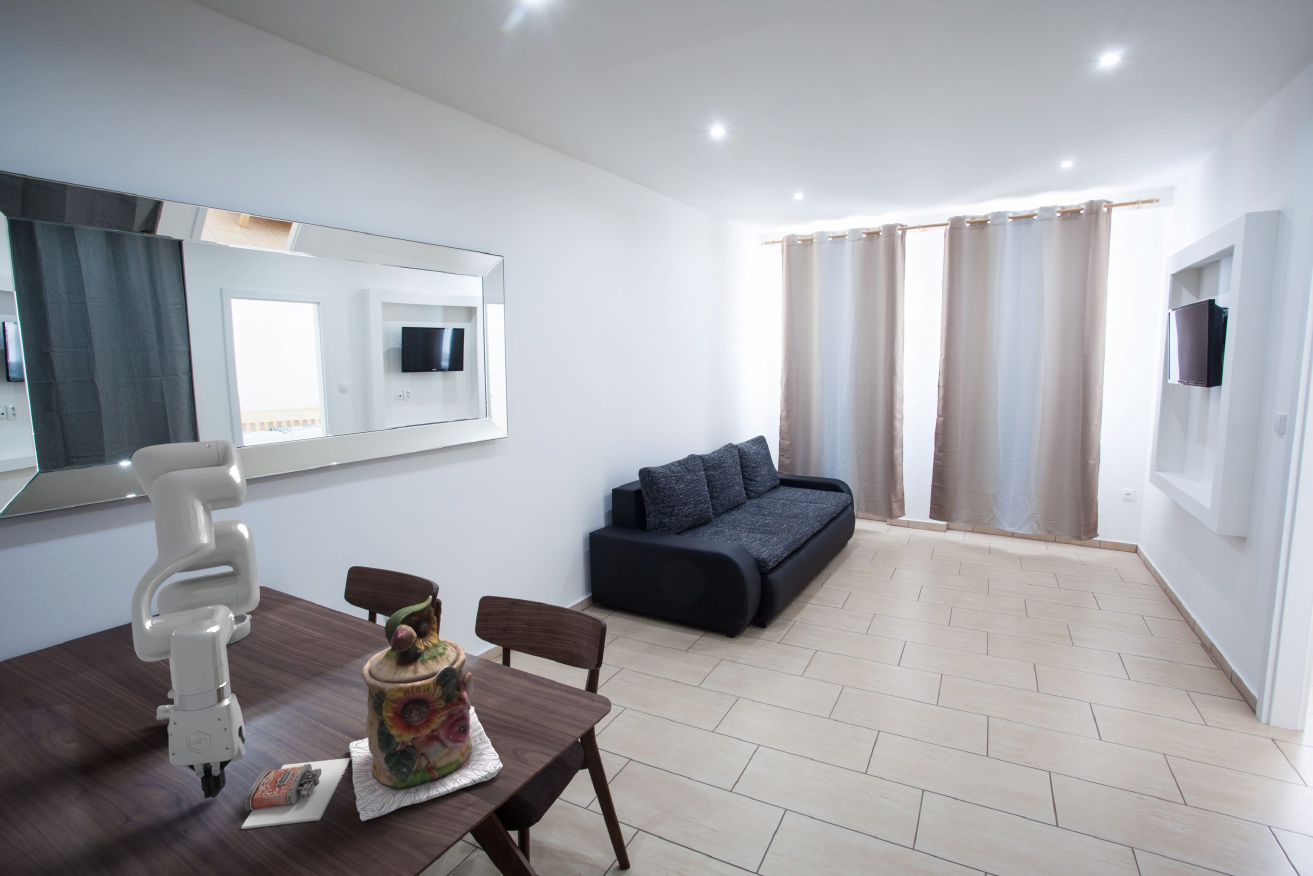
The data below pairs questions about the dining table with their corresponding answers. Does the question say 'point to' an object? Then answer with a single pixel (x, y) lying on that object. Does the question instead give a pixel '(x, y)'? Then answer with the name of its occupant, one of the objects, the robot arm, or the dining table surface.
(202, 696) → the robot arm
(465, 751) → the cookie jar
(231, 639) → the dish
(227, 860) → the dining table surface
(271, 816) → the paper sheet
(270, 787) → the lighter
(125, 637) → the dining table surface
